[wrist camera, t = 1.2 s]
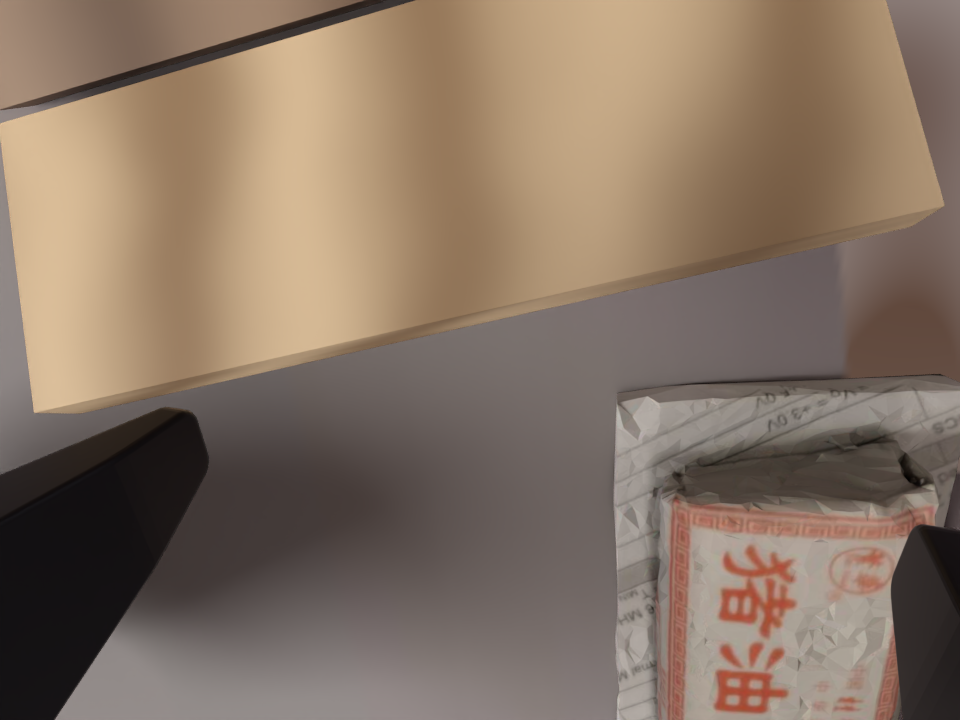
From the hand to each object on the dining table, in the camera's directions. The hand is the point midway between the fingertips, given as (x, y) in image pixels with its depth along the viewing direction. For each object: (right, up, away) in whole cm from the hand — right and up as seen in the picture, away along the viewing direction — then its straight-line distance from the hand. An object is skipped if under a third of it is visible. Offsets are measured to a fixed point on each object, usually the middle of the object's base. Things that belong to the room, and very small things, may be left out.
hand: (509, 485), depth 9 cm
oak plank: (-2, +6, +8) cm, 10 cm away
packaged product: (+9, -7, +16) cm, 20 cm away
